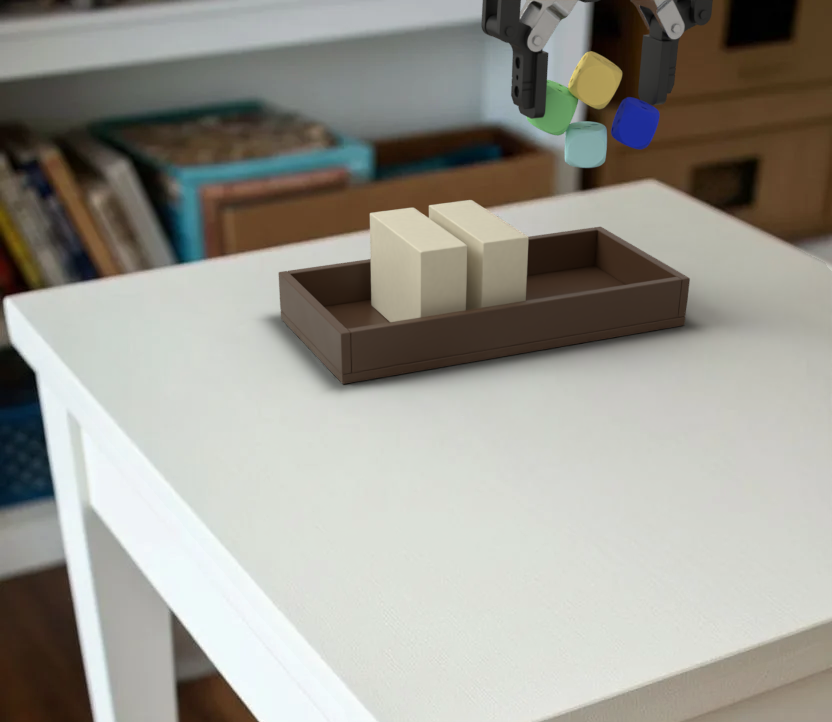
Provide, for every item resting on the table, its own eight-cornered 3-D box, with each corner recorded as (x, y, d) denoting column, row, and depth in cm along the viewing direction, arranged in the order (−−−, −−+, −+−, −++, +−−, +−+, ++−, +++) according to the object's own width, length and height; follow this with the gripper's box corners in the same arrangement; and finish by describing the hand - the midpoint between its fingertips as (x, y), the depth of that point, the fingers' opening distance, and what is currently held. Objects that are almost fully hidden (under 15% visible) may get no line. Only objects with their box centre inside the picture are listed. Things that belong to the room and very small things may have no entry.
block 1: (413, 299, 90) (413, 206, 86) (465, 342, 84) (467, 245, 80) (370, 305, 89) (369, 212, 85) (420, 350, 83) (420, 251, 79)
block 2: (469, 290, 91) (471, 199, 88) (524, 332, 85) (529, 236, 82) (427, 296, 90) (428, 204, 87) (480, 340, 84) (483, 242, 81)
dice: (652, 157, 86) (662, 48, 83) (656, 169, 84) (667, 57, 80) (524, 155, 87) (528, 47, 83) (525, 167, 84) (529, 56, 81)
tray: (597, 270, 96) (600, 226, 94) (685, 325, 88) (690, 278, 86) (280, 318, 88) (278, 271, 87) (342, 384, 80) (340, 333, 78)
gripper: (689, -211, 80) (660, 85, 89) (464, -206, 75) (458, 106, 84) (765, -204, 74) (726, 112, 83) (527, -199, 69) (513, 136, 78)
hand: (592, 108), depth 84 cm, fingers closed on dice, 8 cm apart
